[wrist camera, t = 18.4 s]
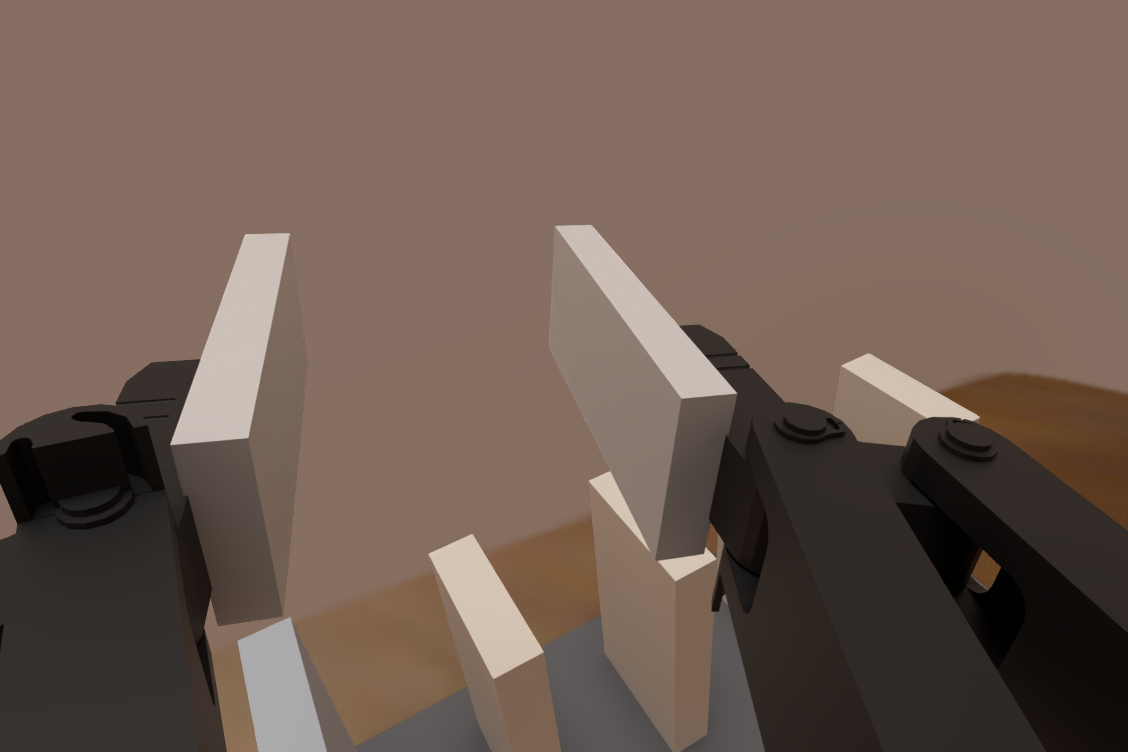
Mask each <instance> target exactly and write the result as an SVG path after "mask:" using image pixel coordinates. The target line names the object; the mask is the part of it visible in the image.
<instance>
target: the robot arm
mask: <svg viewBox="0 0 1128 752" xmlns="http://www.w3.org/2000/svg"><path fill="white" fill-rule="evenodd" d="M549 349H550V351H551V353H552V355H553V357H554V359H555V361H556V363H557V365H558V367H559V369H560V371H561V373H562V375H563V377H564V379H565V381H566V383H567V385H568V387H569V389H570V391H571V393H572V395H573V397H574V399H575V401H576V403H577V405H578V407H579V409H580V411H581V413H582V415H583V417H584V419H585V421H586V423H587V425H588V427H589V429H590V431H591V433H592V435H593V437H594V439H595V441H596V443H597V445H598V448H599V450H600V452H601V454H602V455H603V458H604V459H605V462H606V464H607V465H608V467H609V470H610V472H611V474H612V476H613V478H614V480H615V482H616V484H617V486H618V488H619V490H620V492H621V494H622V496H623V498H624V500H625V502H626V504H627V506H628V508H629V510H630V512H631V514H632V516H633V518H634V520H635V522H636V524H637V526H638V528H639V530H640V532H641V534H642V536H643V538H644V540H645V542H646V544H647V546H648V548H649V550H650V552H651V554H652V556H653V558H654V560H655V561H661V560H668V559H674V558H681V557H688V556H695V555H701V554H704V552H705V547H706V542H707V538H708V533H709V528H710V523H712V525H713V526H714V528H715V530H716V531H717V533H718V534H719V536H720V538H721V539H722V541H723V542H724V546H723V550H722V555H721V559H720V564H719V568H718V573H717V577H716V582H715V586H714V591H713V595H712V602H711V612H719V610H720V605H721V601H722V597H723V596H724V595H726V599H727V603H728V607H729V611H730V615H731V619H732V623H733V627H734V631H735V635H736V639H737V643H738V647H739V651H740V655H741V658H742V662H743V666H744V670H745V674H746V678H747V682H748V686H749V690H750V694H751V698H752V702H753V706H754V710H755V714H756V718H757V722H758V726H759V730H760V734H761V738H762V742H763V746H764V750H765V752H1128V531H1127V530H1126V529H1124V528H1123V527H1122V526H1120V525H1119V524H1118V523H1117V522H1115V521H1114V520H1113V519H1111V518H1110V517H1109V516H1107V515H1106V514H1105V513H1103V512H1102V511H1101V510H1100V509H1098V508H1097V507H1096V506H1094V505H1093V504H1092V503H1090V502H1089V501H1088V500H1086V499H1085V498H1084V497H1082V496H1081V495H1080V494H1079V493H1077V492H1076V491H1075V490H1073V489H1072V488H1071V487H1069V486H1068V485H1067V484H1065V483H1064V482H1063V481H1062V480H1060V479H1059V478H1058V477H1056V476H1055V475H1054V474H1052V473H1051V472H1050V471H1048V470H1047V469H1046V468H1044V467H1043V466H1042V465H1041V464H1039V463H1038V462H1037V461H1035V460H1034V459H1033V458H1031V457H1030V456H1029V455H1027V454H1026V453H1025V452H1024V451H1022V450H1021V449H1020V448H1018V447H1017V446H1016V445H1014V444H1013V443H1012V442H1010V441H1009V440H1008V439H1006V438H1004V437H1003V436H1001V435H999V434H998V433H996V432H994V431H993V430H991V429H989V428H986V427H983V426H981V425H978V424H977V423H976V422H974V421H970V420H967V419H963V420H961V418H956V417H930V418H926V419H922V420H919V421H918V422H917V423H916V424H915V425H914V426H913V428H912V430H911V433H910V436H909V439H908V441H907V444H906V446H897V445H887V444H877V443H867V442H859V441H858V440H857V439H856V437H855V435H854V434H853V432H852V431H851V430H850V429H849V428H848V426H847V425H846V424H845V423H844V422H843V421H842V420H840V419H838V418H837V417H835V416H833V415H831V414H830V413H828V412H826V411H823V410H821V409H818V408H815V407H812V406H809V405H803V404H797V403H790V402H789V403H785V402H784V401H783V400H782V399H781V398H780V397H779V396H778V395H777V394H776V393H775V392H774V390H773V389H772V388H771V387H770V386H769V385H768V384H767V383H766V382H765V381H764V380H763V379H762V378H761V377H760V376H759V375H758V374H757V373H756V372H755V370H753V369H750V367H749V364H748V363H747V362H746V361H745V360H744V359H743V358H742V357H741V356H738V355H737V352H736V351H735V349H733V348H732V346H731V345H730V344H729V343H728V342H727V341H726V340H725V339H724V338H723V337H721V336H719V335H718V334H716V333H714V332H712V331H710V330H708V329H706V328H705V327H703V326H701V325H686V326H678V324H677V323H676V322H675V321H674V320H673V319H672V317H671V316H670V315H669V314H668V313H667V312H666V311H665V310H664V308H663V307H662V306H661V305H660V304H659V302H658V301H657V300H656V299H655V298H654V297H653V296H652V294H651V293H650V292H649V291H648V290H647V289H646V288H645V286H644V285H643V284H642V283H641V282H640V281H639V279H638V278H637V277H636V276H635V275H634V274H633V272H632V271H631V270H630V269H629V268H628V267H627V266H626V265H625V263H624V262H623V261H622V260H621V259H620V257H619V256H618V255H617V254H616V253H615V252H614V251H613V249H612V248H611V247H610V246H609V245H608V244H607V243H606V241H605V240H604V239H603V238H602V237H601V235H599V233H598V232H597V231H596V230H595V229H594V228H593V226H592V225H578V226H577V225H576V226H555V236H554V257H553V275H552V293H551V313H550V332H549ZM307 369H308V361H307V353H306V346H305V339H304V332H303V324H302V317H301V310H300V303H299V295H298V288H297V281H296V275H295V267H294V259H293V252H292V245H291V238H290V233H284V234H283V233H282V234H248V235H247V234H246V235H245V237H244V240H243V242H242V245H241V248H240V251H239V254H238V256H237V259H236V262H235V265H234V268H233V271H232V273H231V276H230V279H229V282H228V285H227V287H226V290H225V293H224V296H223V298H222V301H221V304H220V307H219V310H218V312H217V315H216V318H215V321H214V324H213V326H212V329H211V332H210V335H209V338H208V340H207V343H206V346H205V349H204V352H203V354H202V357H201V359H199V360H184V361H168V362H155V363H154V362H153V363H150V364H149V365H148V366H146V367H145V368H144V369H142V370H141V371H140V372H138V373H137V374H136V375H134V376H133V377H132V378H130V379H129V380H128V381H127V382H126V383H125V385H124V387H123V389H122V391H121V393H120V395H119V397H118V399H117V401H116V406H113V405H102V404H100V405H90V406H80V407H72V408H68V409H65V410H61V411H57V412H54V413H50V414H46V415H43V416H41V417H39V418H36V419H34V420H32V421H30V422H28V423H25V424H24V425H21V426H19V427H17V428H16V429H15V430H13V431H12V432H11V433H9V434H8V435H7V436H5V437H4V438H3V439H1V440H0V484H1V486H2V489H3V491H4V493H5V496H6V498H7V500H8V503H9V505H10V507H11V510H12V512H13V515H14V517H15V520H16V522H17V530H16V534H14V535H12V536H10V537H7V538H4V539H1V540H0V752H227V751H226V744H225V738H224V732H223V725H222V719H221V713H220V706H219V700H218V694H217V687H216V681H215V675H214V668H213V662H212V656H211V651H210V647H209V644H208V640H207V637H206V633H205V629H204V625H205V620H206V615H207V610H208V606H209V601H210V598H211V602H212V605H213V609H214V613H215V616H216V621H217V624H218V626H223V625H230V624H237V623H242V622H250V621H256V620H264V619H270V618H277V617H283V615H284V605H285V595H286V584H287V575H288V564H289V554H290V543H291V533H292V523H293V513H294V503H295V492H296V482H297V471H298V461H299V450H300V441H301V430H302V420H303V410H304V400H305V389H306V379H307ZM983 550H984V551H985V552H986V553H987V554H988V555H989V556H990V557H991V558H992V559H993V560H994V561H995V562H996V563H997V564H998V565H1000V566H1001V569H1000V571H999V573H998V575H997V577H996V579H995V581H994V583H993V585H992V587H991V588H990V589H989V590H987V589H985V588H984V587H982V586H981V585H980V584H978V583H977V582H976V581H975V580H974V579H973V578H972V577H971V574H972V572H973V570H974V568H975V566H976V563H977V561H978V559H979V557H980V555H981V553H982V551H983Z"/></svg>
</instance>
